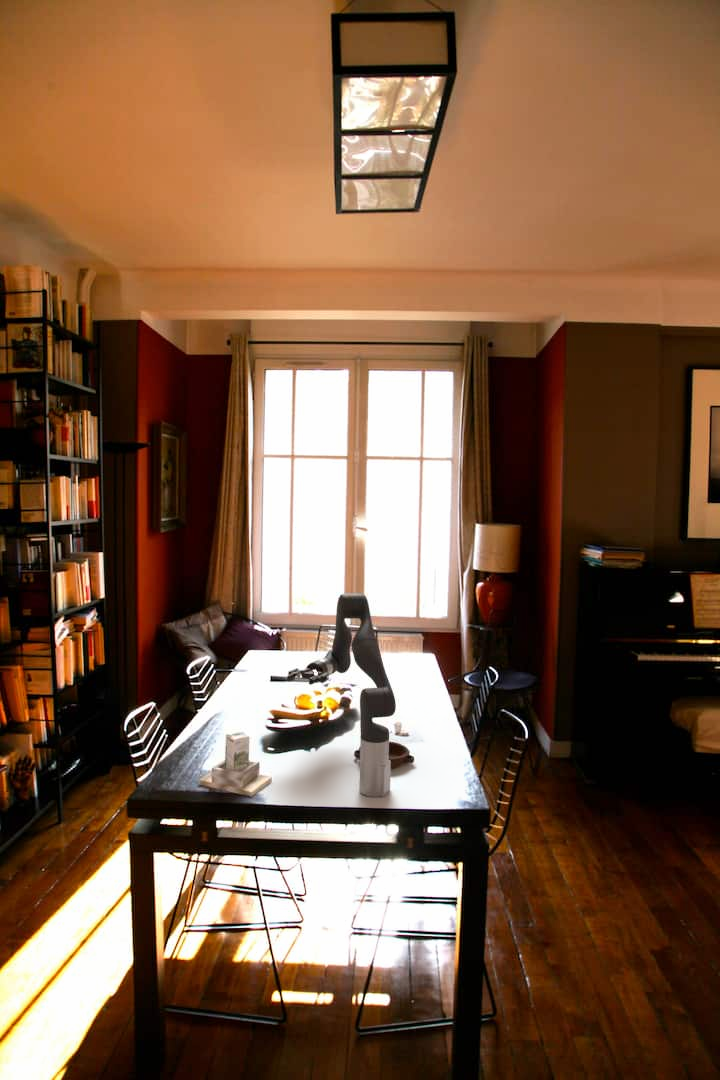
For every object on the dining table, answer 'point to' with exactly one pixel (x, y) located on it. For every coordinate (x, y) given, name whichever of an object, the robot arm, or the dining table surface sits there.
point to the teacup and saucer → (399, 729)
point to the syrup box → (237, 751)
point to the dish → (395, 754)
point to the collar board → (236, 779)
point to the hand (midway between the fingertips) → (299, 680)
